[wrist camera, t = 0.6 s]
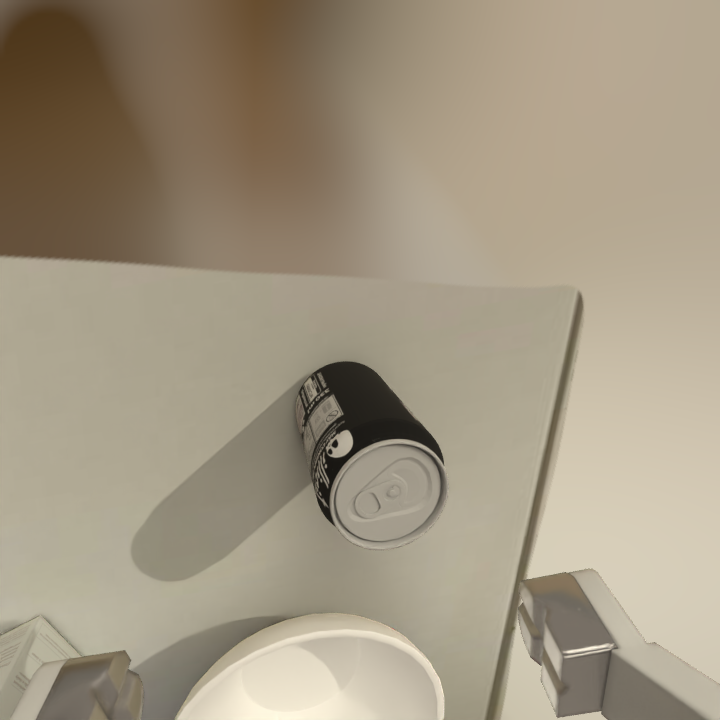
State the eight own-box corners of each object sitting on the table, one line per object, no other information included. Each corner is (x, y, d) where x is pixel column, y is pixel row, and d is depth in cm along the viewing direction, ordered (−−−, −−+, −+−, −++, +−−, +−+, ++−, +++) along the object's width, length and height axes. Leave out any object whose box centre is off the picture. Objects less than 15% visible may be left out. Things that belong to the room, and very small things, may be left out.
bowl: (450, 584, 39) (490, 654, 33) (355, 755, 42) (374, 849, 36) (231, 531, 33) (228, 605, 27) (138, 737, 36) (115, 847, 30)
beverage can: (397, 420, 34) (473, 518, 23) (316, 459, 33) (353, 580, 22) (366, 342, 31) (433, 408, 20) (278, 382, 31) (297, 473, 20)
